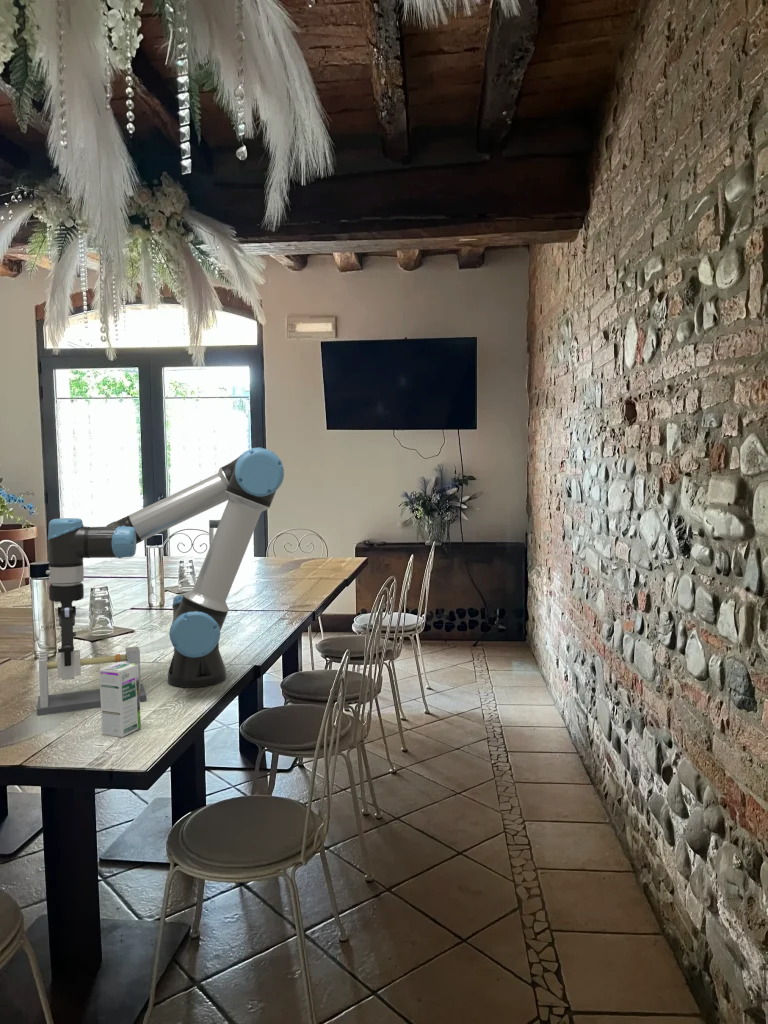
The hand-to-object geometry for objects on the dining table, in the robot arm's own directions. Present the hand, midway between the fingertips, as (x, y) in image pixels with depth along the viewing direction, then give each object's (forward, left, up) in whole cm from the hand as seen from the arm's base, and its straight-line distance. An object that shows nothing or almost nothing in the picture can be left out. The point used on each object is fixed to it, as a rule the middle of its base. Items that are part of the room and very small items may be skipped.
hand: (67, 671), depth 170 cm
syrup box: (-23, +12, -8) cm, 27 cm away
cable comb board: (-4, -3, -8) cm, 10 cm away
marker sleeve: (0, 0, -1) cm, 1 cm away
